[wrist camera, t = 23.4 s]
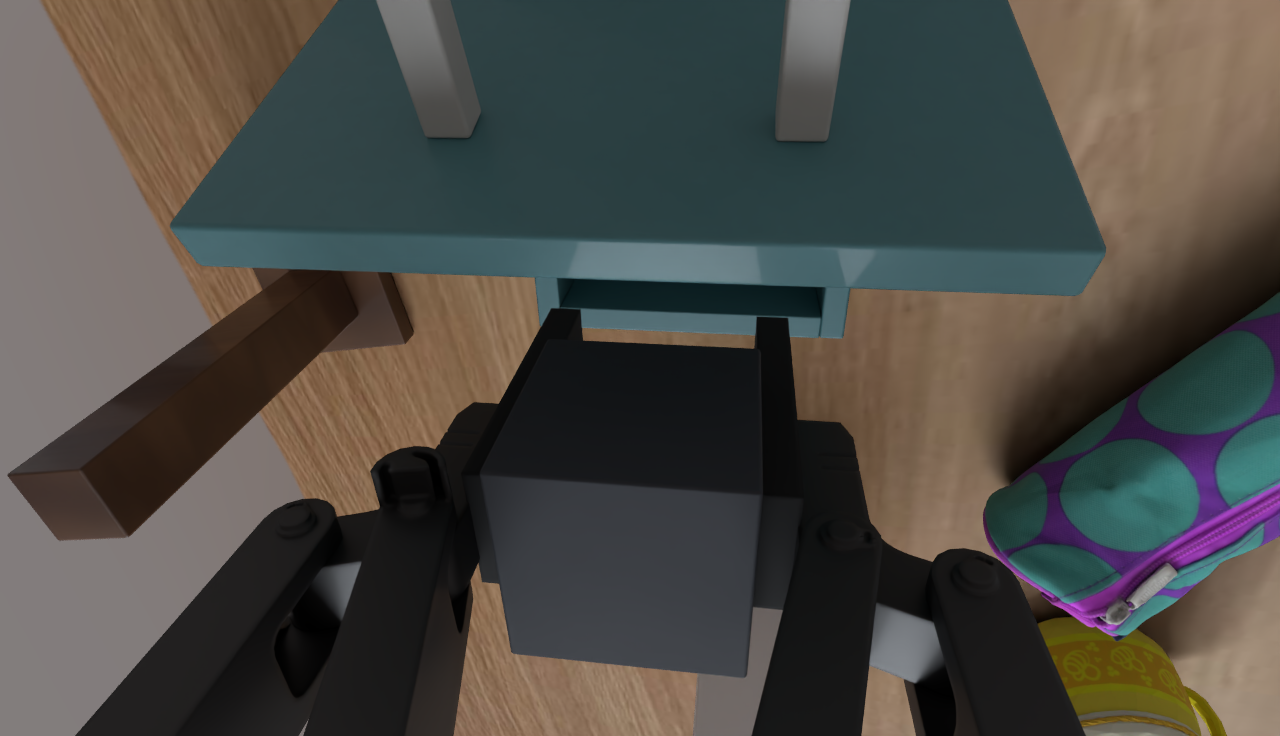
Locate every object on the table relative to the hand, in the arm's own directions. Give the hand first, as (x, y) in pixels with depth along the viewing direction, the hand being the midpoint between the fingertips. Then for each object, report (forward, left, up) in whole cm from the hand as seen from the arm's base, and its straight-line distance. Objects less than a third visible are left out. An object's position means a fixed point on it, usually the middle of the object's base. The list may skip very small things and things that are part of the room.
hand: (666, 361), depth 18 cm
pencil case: (+24, +11, -18) cm, 32 cm away
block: (0, 0, +3) cm, 3 cm away
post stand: (-9, -19, -18) cm, 28 cm away
